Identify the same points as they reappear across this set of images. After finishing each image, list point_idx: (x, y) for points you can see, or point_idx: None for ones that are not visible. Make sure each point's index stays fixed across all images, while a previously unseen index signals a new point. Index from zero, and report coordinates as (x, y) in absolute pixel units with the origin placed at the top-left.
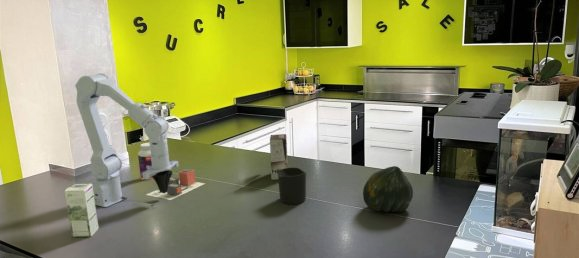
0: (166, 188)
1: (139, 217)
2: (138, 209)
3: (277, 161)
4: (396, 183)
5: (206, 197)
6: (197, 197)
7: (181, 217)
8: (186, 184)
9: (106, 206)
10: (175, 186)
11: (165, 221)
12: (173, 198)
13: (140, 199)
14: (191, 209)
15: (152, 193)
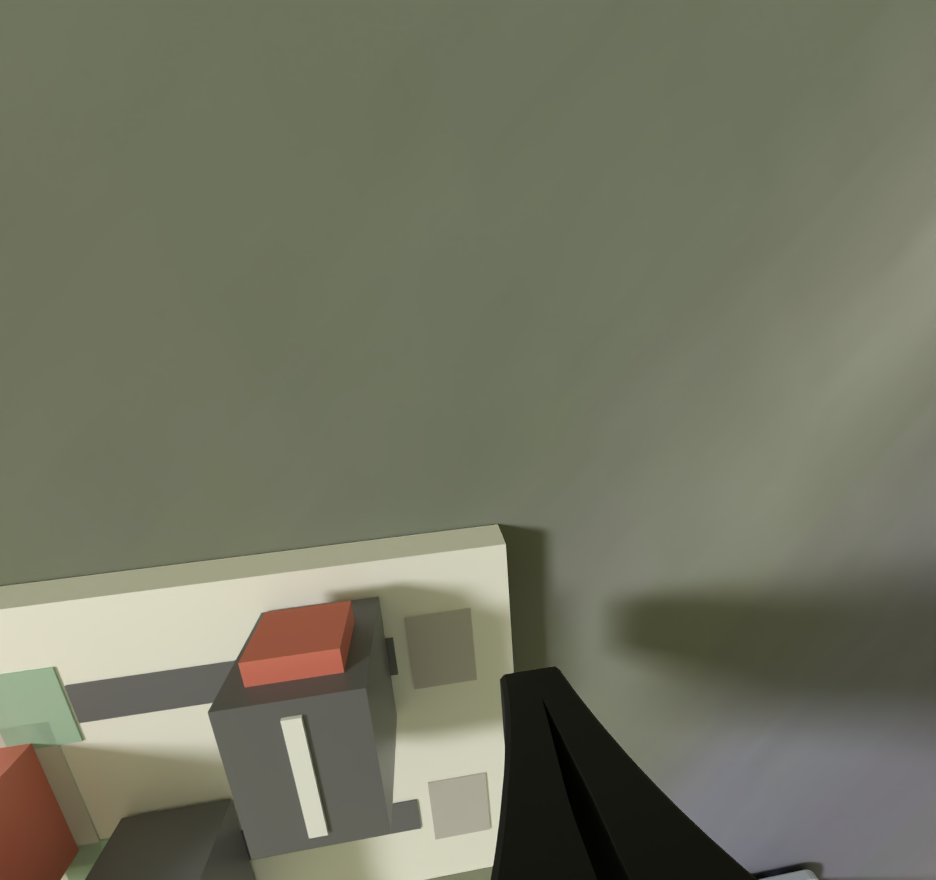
0: (544, 715)
1: (891, 494)
2: (748, 654)
3: None
4: None
5: (72, 270)
6: (167, 392)
7: (768, 43)
8: (22, 785)
9: (810, 874)
10: (322, 723)
11: (913, 151)
12: (451, 555)
13: None
14: (515, 125)
15: (466, 842)
